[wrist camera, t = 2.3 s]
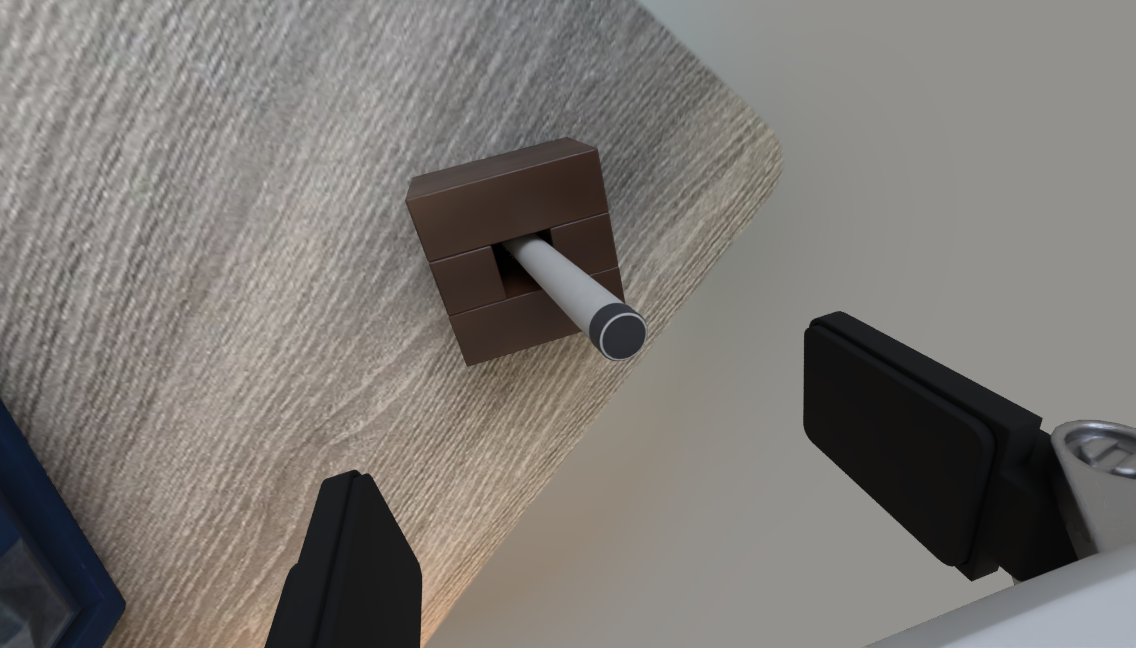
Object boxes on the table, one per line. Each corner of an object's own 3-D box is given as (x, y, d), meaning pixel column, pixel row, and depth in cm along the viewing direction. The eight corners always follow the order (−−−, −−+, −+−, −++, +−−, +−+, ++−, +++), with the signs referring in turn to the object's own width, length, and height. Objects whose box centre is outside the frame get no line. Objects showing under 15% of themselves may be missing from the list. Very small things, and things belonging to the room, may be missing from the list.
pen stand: (411, 177, 22) (404, 199, 18) (567, 136, 23) (597, 147, 19) (462, 319, 26) (467, 367, 21) (596, 279, 26) (628, 317, 22)
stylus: (493, 223, 24) (594, 322, 12) (521, 215, 24) (644, 304, 13) (501, 251, 24) (604, 369, 13) (528, 243, 25) (652, 351, 13)
